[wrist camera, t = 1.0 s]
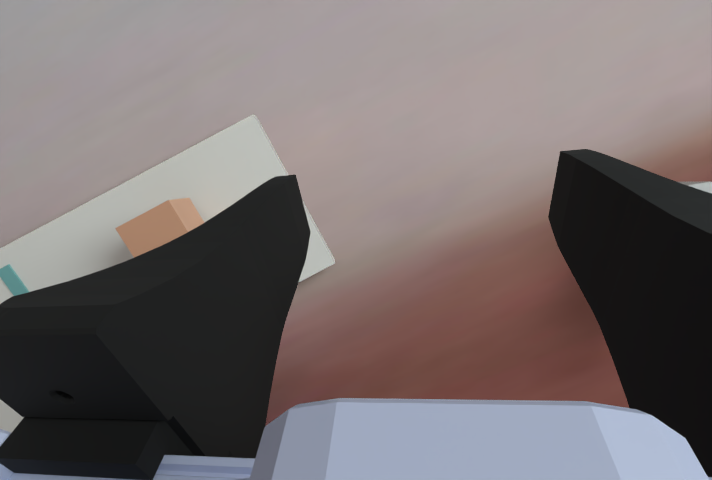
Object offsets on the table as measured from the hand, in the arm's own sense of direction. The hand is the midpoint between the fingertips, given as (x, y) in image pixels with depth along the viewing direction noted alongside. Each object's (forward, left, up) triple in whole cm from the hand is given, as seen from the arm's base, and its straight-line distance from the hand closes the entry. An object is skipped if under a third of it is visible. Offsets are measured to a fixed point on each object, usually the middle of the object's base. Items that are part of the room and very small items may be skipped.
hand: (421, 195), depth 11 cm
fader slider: (-9, +7, -12) cm, 16 cm away
